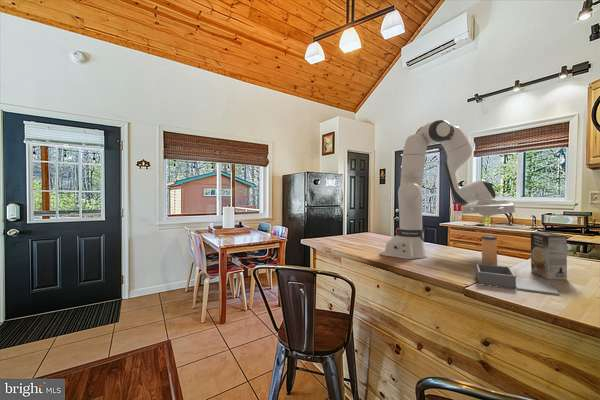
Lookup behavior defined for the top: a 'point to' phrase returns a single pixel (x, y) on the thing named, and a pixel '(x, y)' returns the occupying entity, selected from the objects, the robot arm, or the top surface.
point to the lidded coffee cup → (489, 250)
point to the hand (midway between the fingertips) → (486, 210)
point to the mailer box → (510, 280)
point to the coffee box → (549, 255)
